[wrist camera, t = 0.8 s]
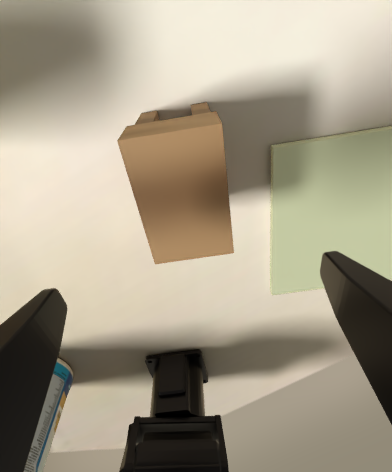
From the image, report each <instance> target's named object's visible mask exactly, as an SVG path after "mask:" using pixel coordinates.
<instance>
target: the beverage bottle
mask: <svg viewBox="0 0 392 472" xmlns="http://www.w3.org/2000/svg"><path fill="white" fill-rule="evenodd" d="M72 382H73V372H72V370H71V368H70V367H69V365H68V364H66V363H65V362H64V361H63V360H61V359H59V358H58V359H57V362H56V365H55V369H54V372H53V375H52V379H51V382H50V386H49V389H48V392H47V396H46V399H45V402H44V406H43V409H42V412H41V416H40V419H39V422H38V426H37V429H36V432H35V436H34V439H33V442H32V446H31V449H30V453H29V456H28V459H27V463H26V466H25V469H24V472H43V469H44V466H45V463H46V460H47V457H48V454H49V451H50V447H51V444H52V441H53V438H54V435H55V432H56V428H57V425H58V422H59V419H60V416H61V413H62V410H63V407H64V404H65V401H66V398H67V395H68V392H69V390H70V388H71V385H72Z"/></svg>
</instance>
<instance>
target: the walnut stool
mask: <svg viewBox="0 0 392 472" xmlns="http://www.w3.org/2000/svg"><path fill="white" fill-rule="evenodd" d="M191 112H192V115H191V116H185V117H179V118H173V119H167V120H161V121H159V117H158V112H157V111H152V112H146V113H141V115H140V117H139V118H138V120H137V122H136V123H135V125H132V126H127V127H126V128H125V130H124V131H123V133H122V134H121V136H120V137H119V139H118V140H117V141H118V145H119V148H120V151H121V154H122V158H123V161H124V164H125V167H126V171H127V174H128V177H129V181H130V184H131V187H132V190H133V194H134V197H135V200H136V203H137V207H138V210H139V213H140V216H141V220H142V223H143V226H144V230H145V233H146V236H147V239H148V243H149V246H150V249H151V252H152V256H153V259H154V262H155V264H160V263H167V262H174V261H181V260H188V259H195V258H202V257H209V256H216V255H223V254H230V253H234V250H233V239H232V228H231V217H230V206H229V195H228V184H227V173H226V162H225V151H224V140H223V129H222V122H221V120H220V118H219V116H218V114H217V112H216V111H215V112H211V111H210V109H209V107H208V104H207V102H205V103H199V104H193V105H191Z"/></svg>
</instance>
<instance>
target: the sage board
mask: <svg viewBox="0 0 392 472" xmlns="http://www.w3.org/2000/svg"><path fill="white" fill-rule="evenodd" d="M329 251H338V252H340V253H342V254H344V255H345V256H347V257H349V258H351V259H353V260H355V261H356V262H358V263H360V264H362V265H364V266H365V267H367V268H369V269H371V270H373V271H374V272H376V273H378V274H380V275H382V276H383V277H385V278H387V279H389V280H390V279H392V126H388V127H382V128H375V129H369V130H363V131H357V132H350V133H344V134H338V135H332V136H325V137H319V138H313V139H307V140H301V141H294V142H288V143H282V144H276V145H271V236H270V291H271V294H272V295H278V294H285V293H293V292H300V291H308V290H315V289H323V288H325V287H324V285H323V282H322V279H321V276H320V267H321V260H322V255H323V253H325V252H329Z"/></svg>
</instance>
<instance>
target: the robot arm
mask: <svg viewBox="0 0 392 472" xmlns="http://www.w3.org/2000/svg"><path fill="white" fill-rule="evenodd" d="M320 276H321V279H322V282H323V285H324V287H325V290H326V293H327V295H328V298H329V301H330V303H331V306H332V308H333V311H334V314H335V316H336V318H337V320H338V323H339V325H340V327H341V328H342V330H343V332H344V334H345V336H346V338H347V340H348V342H349V344H350V346H351V348H352V350H353V351H354V353H355V355H356V357H357V359H358V361H359V363H360V365H361V367H362V369H363V371H364V373H365V375H366V376H367V378H368V380H369V382H370V384H371V386H372V388H373V390H374V392H375V394H376V396H377V397H378V400H379V401H380V403H381V405H382V407H383V409H384V411H385V413H386V415H387V417H388V418H389V421H390V423H391V424H392V281H391V280H389V279H387V278H385V277H383V276H382V275H380V274H378V273H376V272H374V271H373V270H371V269H369V268H367V267H365V266H364V265H362V264H360V263H358V262H356V261H355V260H353V259H351V258H349V257H347V256H345V255H344V254H342V253H340V252H338V251H329V252H325V253H323V255H322V260H321V267H320ZM66 314H67V305H66V302H65V301H64V299H63V298H62V296H61V294H60V293H59V291H58V290H57V289H55V288H52V289H45V290H42V291H41V292H40V293H39V294H37V295H36V296H35V297H34V298H33V299H31V300H30V301H29V302H28V303H27V304H25V305H24V306H23V307H22V308H20V309H19V310H18V311H17V312H16V313H14V314H13V315H12V316H11V317H9V318H8V319H7V320H6V321H5V322H3V323H2V324H1V325H0V472H24V469H25V466H26V463H27V459H28V456H29V453H30V449H31V446H32V442H33V439H34V436H35V432H36V429H37V426H38V422H39V419H40V416H41V412H42V409H43V406H44V402H45V399H46V396H47V392H48V389H49V386H50V382H51V379H52V375H53V372H54V369H55V365H56V362H57V359H58V355H59V351H60V347H61V341H62V336H63V331H64V325H65V320H66ZM145 362H146V365H147V367H148V369H149V371H150V374H151V376H152V378H153V388H152V400H151V411H150V417H140V416H137V417H135V418H134V423H132V424H130V425H129V430H128V437H127V443H126V448H125V452H124V456H123V459H122V463H121V467H120V471H119V472H229V471H228V461H227V454H226V448H225V442H224V435H223V429H222V423H221V417H220V415H215V416H205V409H204V393H203V383H207V382H208V375H207V371H206V367H205V363H204V358H203V354H202V351H200V350H193V351H185V352H177V353H169V354H161V355H153V356H147V357H146V360H145Z"/></svg>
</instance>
